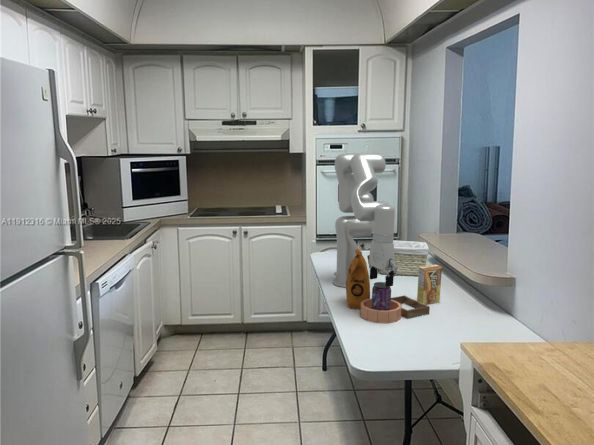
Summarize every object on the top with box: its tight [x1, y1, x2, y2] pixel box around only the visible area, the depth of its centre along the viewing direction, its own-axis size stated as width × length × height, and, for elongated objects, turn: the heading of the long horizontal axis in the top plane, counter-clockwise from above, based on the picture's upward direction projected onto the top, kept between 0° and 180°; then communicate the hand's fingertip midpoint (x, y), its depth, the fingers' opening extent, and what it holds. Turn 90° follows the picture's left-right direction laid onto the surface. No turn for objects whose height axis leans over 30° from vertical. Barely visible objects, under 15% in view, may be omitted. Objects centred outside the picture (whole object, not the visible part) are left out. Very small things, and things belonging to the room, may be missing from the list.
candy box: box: [416, 264, 443, 305], centre depth 203 cm, size 9×4×15 cm, turn 116°
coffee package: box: [345, 248, 371, 310], centre depth 200 cm, size 10×12×22 cm
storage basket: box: [379, 239, 430, 277], centre depth 249 cm, size 24×16×15 cm
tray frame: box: [391, 294, 431, 320], centre depth 195 cm, size 15×11×3 cm
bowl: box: [359, 297, 403, 324], centre depth 189 cm, size 15×15×4 cm
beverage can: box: [371, 281, 392, 311], centre depth 188 cm, size 7×7×12 cm
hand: (381, 282), depth 188 cm, fingers open, 9 cm apart
